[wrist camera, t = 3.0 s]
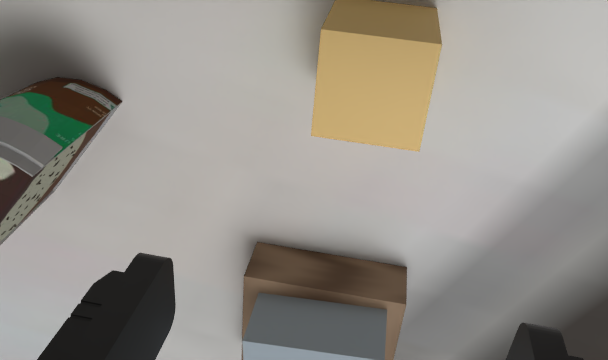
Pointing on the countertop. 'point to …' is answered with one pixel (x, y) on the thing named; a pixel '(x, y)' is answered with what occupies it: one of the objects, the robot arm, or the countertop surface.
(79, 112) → the food container
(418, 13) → the ochre block
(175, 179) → the countertop surface
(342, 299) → the walnut block
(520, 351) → the robot arm
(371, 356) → the grey block
